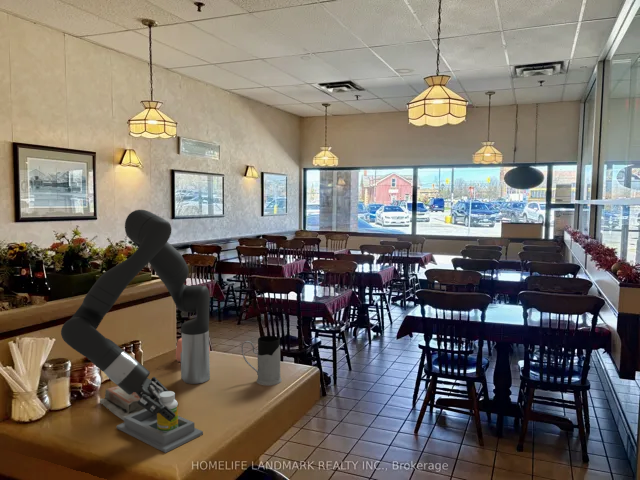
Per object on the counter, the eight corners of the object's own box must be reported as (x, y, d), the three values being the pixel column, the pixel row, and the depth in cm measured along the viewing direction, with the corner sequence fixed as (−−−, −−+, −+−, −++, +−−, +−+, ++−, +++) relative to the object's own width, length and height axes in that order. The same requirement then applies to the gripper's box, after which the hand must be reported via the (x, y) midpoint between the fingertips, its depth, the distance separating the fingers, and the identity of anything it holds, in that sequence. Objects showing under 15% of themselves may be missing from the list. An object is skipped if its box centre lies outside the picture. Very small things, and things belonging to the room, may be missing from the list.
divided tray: (116, 428, 137) (116, 417, 137) (153, 412, 146) (153, 402, 146) (165, 452, 124) (165, 440, 124) (202, 434, 133) (202, 422, 133)
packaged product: (98, 389, 153) (129, 380, 160) (98, 404, 154) (129, 395, 161) (123, 406, 141) (155, 396, 148) (123, 422, 141) (156, 411, 148)
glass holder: (278, 386, 167) (277, 343, 165) (238, 383, 169) (237, 340, 168) (284, 376, 175) (284, 335, 174) (246, 374, 178) (245, 333, 176)
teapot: (215, 354, 201) (214, 329, 200) (196, 369, 183) (195, 342, 182) (188, 352, 203) (187, 327, 202) (167, 367, 185) (166, 340, 184)
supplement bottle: (172, 434, 129) (171, 398, 128) (153, 432, 130) (152, 397, 129) (181, 425, 135) (181, 390, 134) (163, 423, 136) (162, 389, 135)
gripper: (130, 371, 123) (181, 415, 126) (142, 353, 137) (187, 392, 140) (108, 393, 122) (160, 436, 125) (123, 372, 136) (168, 411, 139)
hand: (174, 413), depth 132 cm, fingers closed on supplement bottle, 5 cm apart
